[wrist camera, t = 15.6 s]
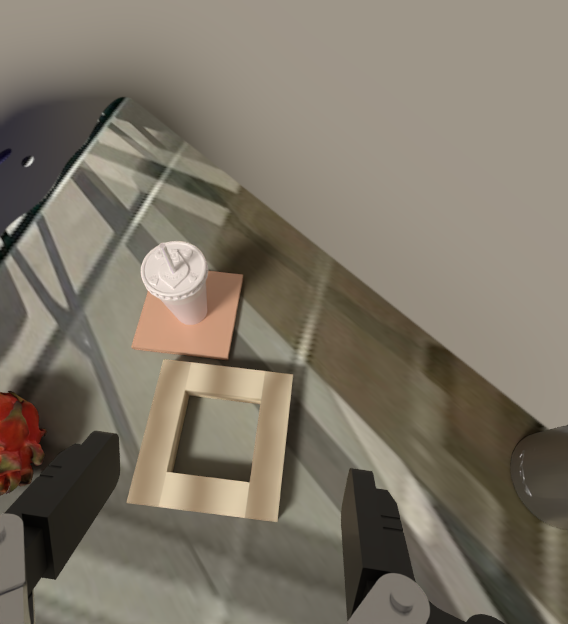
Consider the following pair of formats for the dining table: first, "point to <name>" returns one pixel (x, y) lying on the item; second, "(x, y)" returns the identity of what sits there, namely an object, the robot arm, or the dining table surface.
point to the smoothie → (178, 279)
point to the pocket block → (167, 431)
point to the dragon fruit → (18, 441)
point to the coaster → (199, 337)
